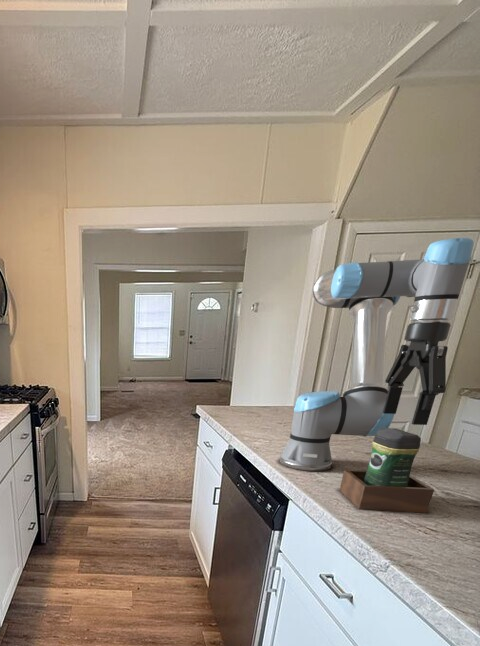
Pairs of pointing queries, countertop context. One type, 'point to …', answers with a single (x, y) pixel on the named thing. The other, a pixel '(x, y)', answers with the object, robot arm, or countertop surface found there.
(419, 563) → the countertop surface
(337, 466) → the countertop surface
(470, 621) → the countertop surface
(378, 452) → the coffee jar
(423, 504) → the holder
